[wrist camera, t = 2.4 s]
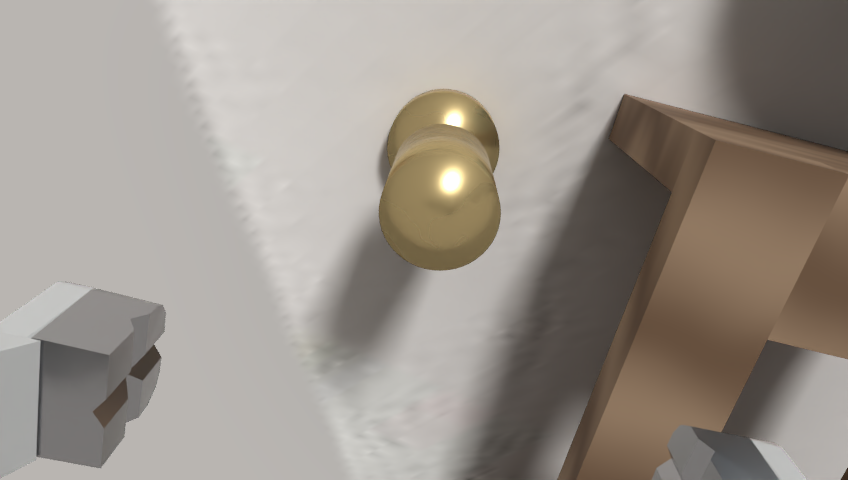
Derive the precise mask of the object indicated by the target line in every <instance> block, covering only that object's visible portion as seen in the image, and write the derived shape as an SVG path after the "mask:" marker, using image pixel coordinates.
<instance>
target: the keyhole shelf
mask: <svg viewBox="0 0 848 480" xmlns="http://www.w3.org/2000/svg"><path fill="white" fill-rule="evenodd" d="M609 139H610V140H611V141H612V142H613V143H614V144H615V145H617V146H618V147H619V148H620V149H621V150H623V151H624V152H625V153H626V154H627V155H628V156H630V157H631V158H632V159H633V160H634V161H636V162H637V163H638V164H639V165H640V166H642V167H643V168H644V169H645V170H646V171H647V172H649V173H650V174H651V175H652V176H653V177H655V178H656V179H657V180H658V181H659V182H660V183H662V184H663V185H664V186H665V187H666V188H668V189H669V190H670V191H671V192H672V193H671V196H670V198H669V201H668V203H667V206H666V208H665V211H664V213H663V216H662V218H661V221H660V223H659V226H658V228H657V231H656V233H655V236H654V238H653V241H652V243H651V246H650V248H649V251H648V253H647V256H646V258H645V261H644V263H643V266H642V268H641V271H640V273H639V276H638V278H637V281H636V283H635V286H634V288H633V291H632V293H631V296H630V298H629V301H628V303H627V306H626V309H625V311H624V314H623V316H622V319H621V321H620V324H619V326H618V329H617V331H616V334H615V336H614V339H613V341H612V344H611V346H610V349H609V351H608V354H607V356H606V359H605V361H604V364H603V366H602V369H601V371H600V374H599V376H598V379H597V381H596V384H595V386H594V389H593V391H592V394H591V396H590V399H589V401H588V404H587V406H586V409H585V411H584V414H583V416H582V419H581V421H580V424H579V426H578V429H577V431H576V434H575V436H574V439H573V442H572V444H571V447H570V449H569V452H568V454H567V457H566V459H565V462H564V464H563V467H562V469H561V472H560V474H559V477H558V479H557V480H652V478H653V475H654V473H655V470H656V468H657V467H659V466H660V465H662V464H663V463H665V462H666V461H668V460H670V459H671V457H670V454H669V450H668V447H667V444H668V442H669V440H670V438H671V436H672V434H673V432H674V431H675V430H676V429H677V428H678V427H679V426H680V425H687V426H692V427H697V428H702V429H707V430H712V431H717V432H722V430H723V428H724V426H725V424H726V422H727V420H728V418H729V416H730V414H731V412H732V410H733V408H734V406H735V404H736V402H737V400H738V398H739V396H740V394H741V392H742V390H743V388H744V386H745V384H746V382H747V380H748V378H749V376H750V374H751V372H752V370H753V368H754V366H755V364H756V362H757V360H758V358H759V356H760V354H761V352H762V350H763V348H764V346H765V344H766V342H767V340H770V341H775V342H779V343H783V344H787V345H791V346H795V347H799V348H804V349H808V350H812V351H816V352H820V353H824V354H828V355H833V356H837V357H841V358H845V359H848V151H844V150H840V149H837V148H833V147H829V146H825V145H821V144H817V143H813V142H809V141H805V140H802V139H798V138H794V137H790V136H786V135H782V134H778V133H774V132H770V131H767V130H763V129H759V128H755V127H751V126H747V125H743V124H739V123H735V122H732V121H728V120H724V119H720V118H716V117H712V116H708V115H704V114H700V113H697V112H693V111H689V110H685V109H681V108H677V107H673V106H669V105H665V104H661V103H658V102H654V101H650V100H646V99H642V98H638V97H634V96H630V95H626V94H624V97H623V100H622V102H621V105H620V108H619V111H618V114H617V117H616V119H615V122H614V125H613V128H612V131H611V134H610V137H609ZM841 480H848V468H847V470H846V472H845V473H844V475H843V477H842V478H841Z"/></svg>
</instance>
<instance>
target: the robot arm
mask: <svg viewBox="0 0 848 480" xmlns="http://www.w3.org/2000/svg"><path fill="white" fill-rule="evenodd" d="M165 316H166V312H165V309H164V307H163V305H161V304H156V303H152V302H148V301H144V300H140V299H136V298H132V297H128V296H124V295H120V294H116V293H112V292H108V291H104V290H100V289H96V288H94V287H89V286H84V285H80V284H75V283H70V282H62V281H58V282H56V283H54V284H53V285H52V286H50V287H49V288H47V289H46V290H44V291H43V292H41V293H40V294H39V295H38V296H36V297H35V298H33V299H32V300H30V301H29V302H27V303H26V304H24V305H23V306H22V307H20V308H19V309H17V310H16V311H14V312H13V313H12V314H10V315H9V316H7V317H6V318H5V319H3V320H2V321H1V322H0V478H2V477H4V476H6V475H8V474H10V473H12V472H14V471H15V470H17V469H19V468H21V467H23V466H25V465H27V464H29V463H31V462H33V461H35V460H36V457H41V458H47V459H53V460H58V461H64V462H69V463H74V464H80V465H86V466H91V467H96V468H101V467H102V466H103V464H104V463H105V462H106V460H107V459H108V458H109V456H110V455H111V454H112V452H113V451H114V450H115V449H116V447H117V446H118V445H119V443H120V442H121V441H122V439H123V438H124V434H125V425H126V422H129V421H131V420H133V419H136V418H138V417H139V416H140V415H141V413H142V412H143V411H144V409H145V408H146V406H147V405H148V403H149V400H150V399H151V396H152V394H153V392H154V390H155V387H156V384H157V380H158V376H159V372H160V365H161V356H160V354H159V352H158V350H157V349H156V347H155V345H154V343H155V342H156V341H157V340H158V339H159V338H160V336H161V335H162V334H163V333H164V330H165ZM667 447H668V450H669V454H670V457H671V459H670V460H668V461H666V462H665V463H663V464H662V465H660V466H659V467H657V468H656V470H655V473H654V475H653V478H652V480H807V479H806V477H805V476H804V475H803V474H802V472H801V471H800V470H799V468H798V467H797V466H796V465H795V463H794V462H793V461H792V459H791V458H790V457H789V456H788V454H787V453H786V452H785V450H784V449H783V448H782V447H780V446H779V445H777V444H775V443H773V442H769V441H763V440H758V439H752V438H747V437H742V436H737V435H732V434H727V433H722V432H717V431H712V430H707V429H702V428H697V427H692V426H687V425H680V426H679V427H678V428H677V429H676V430H675V431H674V432H673V434H672V436H671V438H670V440H669V442H668V444H667Z"/></svg>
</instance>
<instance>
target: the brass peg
mask: <svg viewBox="0 0 848 480" xmlns="http://www.w3.org/2000/svg"><path fill="white" fill-rule="evenodd" d="M387 152H388V159H389V163H390V166H391V170H390V173H389V176H388V179H387V181H386V184H385V187H384V190H383V192H382V196H381V199H380V204H379V220H380V225H381V229H382V232H383V234H384V237H385V238H386V240H387V242H388V244H389V245H390V246H391V248H392V249H393V250H394V251H395V252H396V253H397V254H398V255H399V256H400V257H402V258H403V259H404V260H406V261H408V262H409V263H411V264H413V265H416V266H418V267H421V268H424V269H429V270H451V269H456V268H459V267H462V266H465V265H467V264H469V263H471V262H472V261H474V260H476V259H477V258H478V257H479V256H481V255H482V254H483V253H484V252H485V251H486V250H487V249H488V247H489V246H490V245H491V243H492V242H493V240H494V238H495V236H496V234H497V231H498V228H499V224H500V216H501V209H500V202H499V197H498V193H497V189H496V185H495V181H494V177H493V172H494V170H495V167H496V165H497V161H498V157H499V139H498V134H497V131H496V128H495V125H494V122H493V120H492V118H491V116H490V115H489V113H488V112H487V110H486V109H485V108H484V107H483V105H482V104H480V103H479V102H478V101H477V100H476V99H474V98H473V97H471V96H469V95H467V94H465V93H463V92H460V91H456V90H451V89H437V90H431V91H428V92H425V93H422V94H420V95H418V96H416V97H415V98H413V99H412V100H410V101H409V102H408V103H407V104H406V105H405V106H404V107H403V108H402V109H401V111H400V112H399V114H398V115H397V117H396V119H395V121H394V123H393V125H392V127H391V130H390V133H389V137H388V143H387Z"/></svg>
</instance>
